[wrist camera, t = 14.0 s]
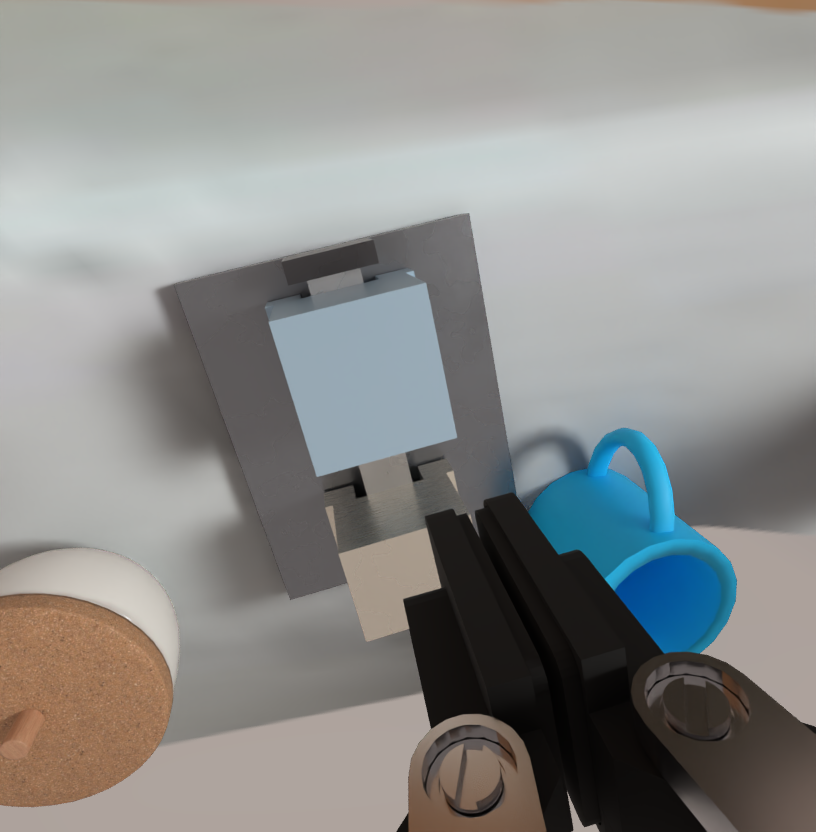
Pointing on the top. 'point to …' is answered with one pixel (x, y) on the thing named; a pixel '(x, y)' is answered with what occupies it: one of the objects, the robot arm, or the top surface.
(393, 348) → the block
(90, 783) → the lidded jar
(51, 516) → the top surface
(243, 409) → the rail plate
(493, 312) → the top surface
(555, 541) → the mug
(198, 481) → the top surface
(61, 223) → the top surface
